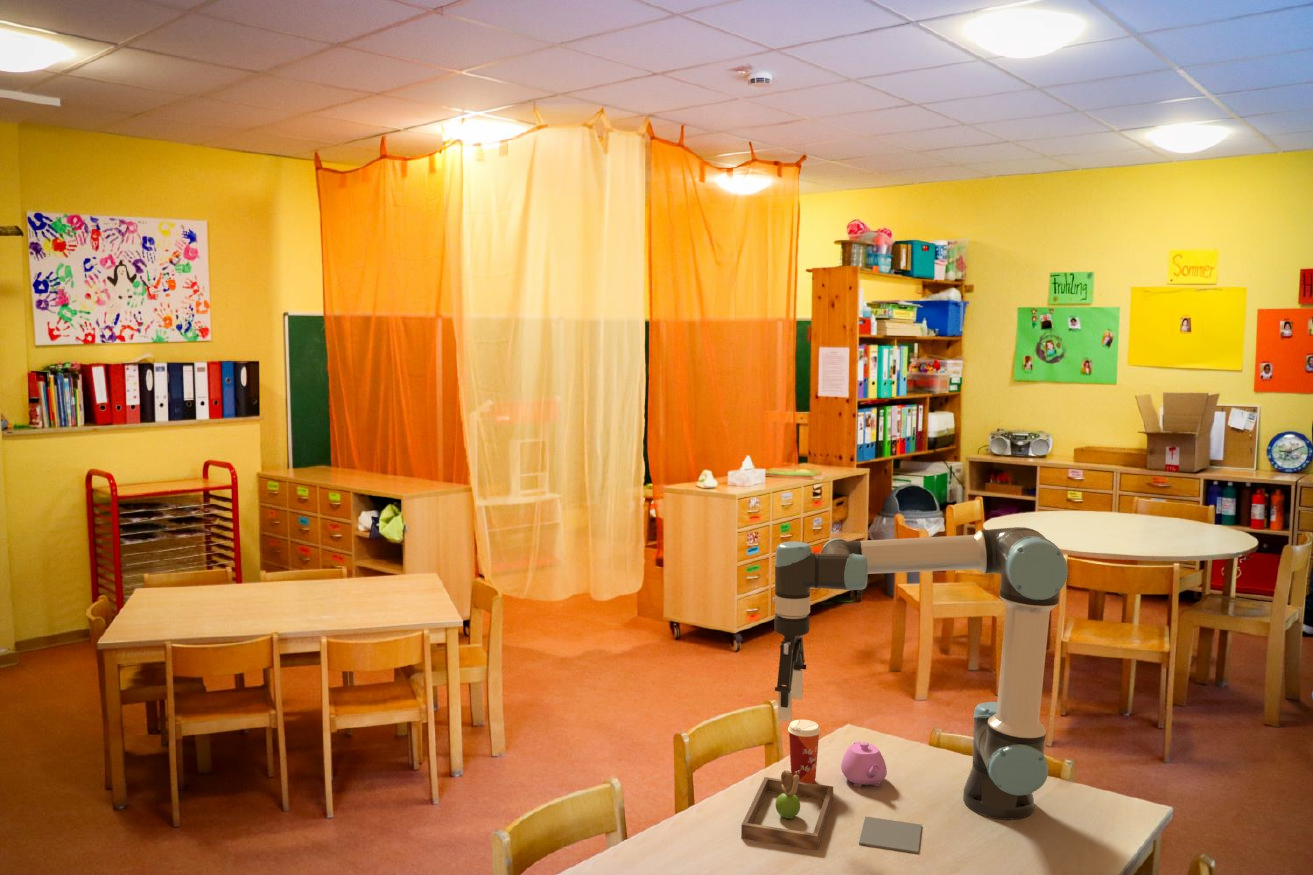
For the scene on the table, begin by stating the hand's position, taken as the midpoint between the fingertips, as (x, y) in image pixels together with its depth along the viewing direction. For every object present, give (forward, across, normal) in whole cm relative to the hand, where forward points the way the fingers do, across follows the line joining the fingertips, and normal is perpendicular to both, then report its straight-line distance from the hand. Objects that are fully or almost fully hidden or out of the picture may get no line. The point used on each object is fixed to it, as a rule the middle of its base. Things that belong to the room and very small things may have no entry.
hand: (790, 709), depth 217 cm
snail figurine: (+25, 0, 0) cm, 25 cm away
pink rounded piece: (+25, -23, +14) cm, 37 cm away
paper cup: (+25, -19, 0) cm, 31 cm away
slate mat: (+25, +1, +22) cm, 33 cm away
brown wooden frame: (+25, 0, 0) cm, 25 cm away
